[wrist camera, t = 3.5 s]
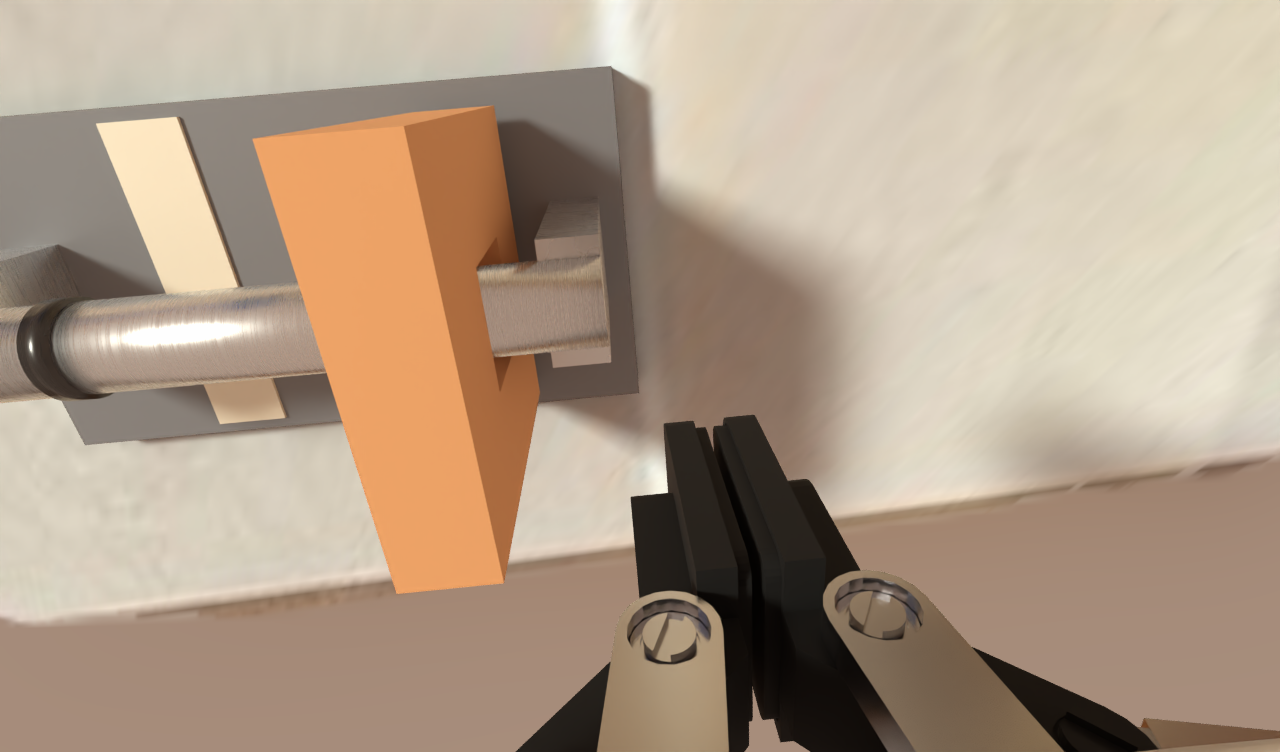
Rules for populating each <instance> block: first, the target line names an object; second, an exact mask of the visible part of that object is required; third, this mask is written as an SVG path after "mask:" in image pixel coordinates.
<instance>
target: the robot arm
mask: <svg viewBox="0 0 1280 752" xmlns="http://www.w3.org/2000/svg"><path fill="white" fill-rule="evenodd" d="M664 440H665V454H666V469H667V483H668V493H664V494H654V495H644V496H634V497H631V507H632V519H633V530H634V541H635V552H636V563H637V575H638V586H639V597H640V599H638V600H637V601H635V602H634V603H632V604H631V605H629V606H628V608H627V609H626V610H625V611H624V612H623V614H622V615H621V616H620V618H619V621H618V624H617V627H616V630H615V637H614V643H613V650H612V657H611V662H609V664H607V665H606V666H605V667H604V668H603V669H602V670H601V671H600V672H599V673H598V674H597V675H596V676H595V677H594V678H593V679H592V680H591V681H590V682H588V683H587V684H586V685H585V686H584V687H583V688H582V689H581V690H580V691H579V692H578V693H577V694H576V695H575V696H574V697H573V698H572V699H571V700H570V701H568V703H567V704H565V705H564V706H563V707H562V708H561V709H560V710H559V711H558V712H557V713H556V714H555V715H554V716H553V717H552V718H551V719H550V720H549V721H547V723H545V724H544V725H543V726H542V727H541V728H540V729H539V730H538V731H537V732H536V733H535V734H534V735H533V736H532V737H531V738H530V739H529V740H528V741H527V742H525V743H524V744H523V745H522V746H521V747H520V748H519V749H518V750H517V751H516V752H744V751H745V750H746V749H747V747H748V746H749V721H752V717H753V713H752V712H753V709H752V708H753V706H752V705H753V701H752V700H753V699H752V698H753V697H752V686H753V690H754V693H755V697H756V701H757V705H758V708H759V712H760V715H761V718H762V719H763V720H766V719H774V721H775V725H776V728H777V732H778V735H779V738H780V742H787V741H795V742H796V743H798V744H799V745H801V746H803V747H804V748H806V749H807V750H809V751H810V752H1280V731H1273V730H1262V729H1252V728H1242V727H1232V726H1231V727H1230V726H1221V725H1211V724H1201V723H1189V722H1180V721H1168V720H1159V719H1149V718H1144V719H1143V722H1142V725H1141V727H1136V726H1135V725H1133V724H1132V723H1131V722H1129V721H1128V720H1127V719H1125V718H1124V717H1122V716H1120V715H1118V714H1117V713H1115V712H1113V711H1111V710H1109V709H1108V708H1106V707H1104V706H1102V705H1099V704H1097V703H1095V702H1093V701H1091V700H1088V699H1086V698H1084V697H1082V696H1080V695H1077V694H1075V693H1073V692H1070V691H1068V690H1066V689H1064V688H1062V687H1060V686H1057V685H1055V684H1053V683H1051V682H1049V681H1046V680H1044V679H1042V678H1040V677H1038V676H1035V675H1033V674H1031V673H1029V672H1026V671H1024V670H1022V669H1019V668H1017V667H1015V666H1013V665H1011V664H1008V663H1006V662H1004V661H1002V660H1000V659H998V658H995V657H993V656H991V655H989V654H987V653H984V652H982V651H980V650H978V649H975V648H973V647H971V646H970V645H969V644H968V643H967V641H966V640H965V639H964V638H963V637H962V636H961V635H960V633H958V631H957V630H956V629H955V628H954V627H953V626H952V625H951V623H950V622H949V621H948V620H947V619H946V618H945V617H944V615H943V614H942V613H941V612H940V611H939V610H938V609H937V608H936V606H935V605H934V604H933V603H932V602H931V601H930V600H929V598H928V597H927V596H926V595H925V594H923V593H922V592H921V591H920V590H919V589H918V588H917V587H915V586H914V585H913V584H911V583H909V582H907V581H905V580H903V579H902V578H900V577H897V576H894V575H891V574H888V573H885V572H879V571H870V570H860V568H859V567H858V565H857V563H856V562H855V560H854V558H853V556H852V554H851V552H850V551H849V549H848V548H847V545H846V544H845V542H844V540H843V538H842V536H841V535H840V533H839V531H838V529H837V527H836V526H835V524H834V522H833V520H832V518H831V517H830V515H829V513H828V511H827V510H826V508H825V506H824V504H823V502H822V501H821V499H820V497H819V495H818V493H817V492H816V490H815V488H814V486H813V485H812V483H811V482H810V481H809V480H807V479H801V480H791V481H787V479H786V477H785V475H784V473H783V471H782V469H781V467H780V465H779V463H778V461H777V459H776V457H775V455H774V453H773V451H772V449H771V447H770V445H769V443H768V441H767V439H766V437H765V435H764V433H763V431H762V429H761V427H760V425H759V423H758V421H757V419H756V417H755V415H746V416H736V417H726V418H724V420H723V426H714V428H713V442H714V451H713V448H712V445H711V442H710V439H709V436H708V433H707V430H706V428H705V427H703V428H695V424H694V422H693V421H685V422H675V423H665V424H664Z"/></svg>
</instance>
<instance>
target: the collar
mask: <svg viewBox="0 0 1280 752" xmlns="http://www.w3.org/2000/svg"><path fill="white" fill-rule="evenodd" d="M252 140H253V143H254V146H255V149H256V152H257V155H258V158H259V162H260V165H261V168H262V171H263V174H264V177H265V181H266V184H267V187H268V190H269V193H270V196H271V199H272V203H273V206H274V209H275V212H276V215H277V218H278V221H279V225H280V228H281V231H282V234H283V237H284V240H285V243H286V247H287V250H288V253H289V256H290V259H291V262H292V265H293V269H294V272H295V275H296V278H297V281H298V284H299V288H300V291H301V294H302V297H303V300H304V303H305V306H306V310H307V313H308V316H309V319H310V322H311V325H312V328H313V332H314V335H315V338H316V341H317V344H318V347H319V350H320V354H321V357H322V360H323V363H324V366H325V369H326V372H327V376H328V379H329V382H330V385H331V388H332V391H333V395H334V398H335V401H336V404H337V407H338V410H339V413H340V417H341V420H342V423H343V426H344V429H345V432H346V435H347V439H348V442H349V445H350V448H351V451H352V454H353V457H354V461H355V464H356V467H357V470H358V473H359V476H360V479H361V483H362V486H363V489H364V492H365V495H366V498H367V502H368V505H369V508H370V511H371V514H372V517H373V520H374V524H375V527H376V530H377V533H378V536H379V539H380V542H381V546H382V549H383V552H384V555H385V558H386V561H387V564H388V568H389V571H390V574H391V577H392V580H393V583H394V586H395V590H396V593H397V594H400V593H410V592H420V591H430V590H440V589H450V588H460V587H470V586H480V585H490V584H500V583H504V580H505V575H506V570H507V564H508V559H509V554H510V548H511V543H512V538H513V533H514V527H515V522H516V517H517V511H518V506H519V501H520V496H521V490H522V485H523V480H524V474H525V469H526V464H527V458H528V453H529V448H530V443H531V437H532V432H533V427H534V421H535V416H536V411H537V405H538V400H539V395H540V390H539V383H538V377H537V371H536V365H535V358H534V354H527V355H516V356H506V357H495V358H493V354H492V348H491V343H490V338H489V333H488V327H487V322H486V317H485V312H484V306H483V301H482V296H481V291H480V285H479V280H478V275H477V270H476V267H477V266H482V265H493V264H504V263H515V262H519V259H518V252H517V246H516V240H515V234H514V227H513V221H512V215H511V209H510V202H509V196H508V190H507V184H506V177H505V171H504V165H503V159H502V152H501V146H500V140H499V134H498V128H497V121H496V115H495V109H494V105H493V106H481V107H469V108H457V109H445V110H433V111H421V112H411V113H405V114H399V115H393V116H387V117H381V118H375V119H369V120H363V121H357V122H351V123H345V124H339V125H333V126H327V127H321V128H315V129H309V130H303V131H296V132H290V133H284V134H278V135H272V136H266V137H260V138H254V139H252Z"/></svg>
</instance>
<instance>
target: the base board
mask: <svg viewBox="0 0 1280 752" xmlns="http://www.w3.org/2000/svg"><path fill="white" fill-rule="evenodd" d="M493 105H494V109H495V115H496V121H497V128H498V134H499V140H500V146H501V152H502V159H503V165H504V171H505V177H506V184H507V190H508V196H509V202H510V209H511V215H512V221H513V227H514V234H515V240H516V246H517V252H518V259H519V262H526V261H537V255H536V248H535V241H534V239H535V237H536V235H537V232H538V230H539V227H540V225H541V222H542V220H543V217H544V215H545V212H546V210H547V207H548V205H549V203H550V201H561V200H572V199H584V198H595V197H598V200H599V210H600V219H601V229H602V239H603V249H604V259H605V269H606V279H607V289H608V299H609V321H610V343H611V362H610V363H600V364H589V365H578V366H567V367H557V368H553V364H552V357H551V352H549V353H538V354H534V358H535V365H536V371H537V377H538V383H539V390H540V395H539V400H538V402H548V401H559V400H570V399H580V398H591V397H601V396H612V395H623V394H633V393H639V386H638V374H637V362H636V350H635V338H634V327H633V315H632V303H631V291H630V280H629V268H628V256H627V244H626V232H625V221H624V209H623V197H622V185H621V173H620V162H619V150H618V138H617V126H616V114H615V103H614V91H613V79H612V67H611V66H608V67H596V68H584V69H572V70H560V71H548V72H535V73H523V74H511V75H499V76H487V77H475V78H463V79H451V80H439V81H426V82H414V83H402V84H390V85H378V86H366V87H354V88H342V89H329V90H317V91H305V92H293V93H281V94H269V95H257V96H245V97H233V98H220V99H208V100H196V101H184V102H172V103H160V104H148V105H136V106H124V107H111V108H99V109H87V110H75V111H63V112H51V113H39V114H27V115H14V116H2V117H0V251H1V250H5V249H9V248H21V247H32V246H44V245H55V244H58V246H59V248H60V250H61V252H62V254H63V256H64V258H65V260H66V263H67V265H68V267H69V269H70V271H71V273H72V275H73V277H74V279H75V282H76V284H77V286H78V288H79V290H80V292H81V294H82V296H83V297H90V298H93V299H96V300H100V299H111V298H122V297H134V296H145V295H156V294H167V293H178V292H190V291H201V290H212V289H223V288H235V287H246V286H257V285H268V284H279V283H291V282H298V281H297V278H296V275H295V272H294V269H293V265H292V262H291V259H290V256H289V253H288V250H287V247H286V243H285V240H284V237H283V234H282V231H281V228H280V225H279V221H278V218H277V215H276V212H275V209H274V206H273V203H272V199H271V196H270V193H269V190H268V187H267V184H266V181H265V177H264V174H263V171H262V168H261V165H260V162H259V158H258V155H257V152H256V149H255V146H254V143H253V140H252V139H254V138H260V137H266V136H272V135H278V134H284V133H290V132H296V131H303V130H309V129H315V128H321V127H327V126H333V125H339V124H345V123H351V122H357V121H363V120H369V119H375V118H381V117H387V116H393V115H399V114H405V113H411V112H421V111H433V110H445V109H457V108H469V107H481V106H493ZM62 402H63V404H64V406H65V408H66V410H67V412H68V414H69V416H70V418H71V419H72V421H73V423H74V425H75V427H76V429H77V431H78V433H79V435H80V436H81V438H82V440H83V442H84V444H85V445H91V444H102V443H112V442H123V441H133V440H144V439H155V438H165V437H176V436H187V435H197V434H208V433H219V432H229V431H240V430H250V429H261V428H272V427H282V426H293V425H304V424H314V423H325V422H336V421H342V420H341V417H340V413H339V410H338V407H337V404H336V401H335V398H334V395H333V391H332V388H331V385H330V382H329V379H328V376H327V373H321V374H311V375H300V376H289V377H278V378H267V379H256V380H246V381H235V382H224V383H213V384H202V385H191V386H181V387H170V388H159V389H148V390H137V391H126V392H116V393H113V394H112V395H110V396H107V397H105V398H100V399H90V400H79V401H62Z"/></svg>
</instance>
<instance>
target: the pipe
mask: <svg viewBox="0 0 1280 752" xmlns="http://www.w3.org/2000/svg"><path fill="white" fill-rule="evenodd" d="M534 241H535V248H536V255H537V261H526V262H515V263H504V264H493V265H482V266H477V267H476V270H477V275H478V280H479V285H480V291H481V296H482V301H483V306H484V312H485V317H486V322H487V327H488V333H489V338H490V343H491V348H492V354H493V358H495V357H506V356H516V355H527V354H538V353H549V352H551V357H552V364H553V368H557V367H567V366H578V365H589V364H600V363H610V362H611V343H610V321H609V299H608V289H607V279H606V269H605V259H604V249H603V239H602V229H601V219H600V210H599V200H598V197H595V198H584V199H572V200H561V201H550V203H549V205H548V207H547V210H546V212H545V215H544V217H543V220H542V222H541V225H540V227H539V230H538V232H537V235H536V237H535V239H534ZM321 373H327V372H326V369H325V366H324V363H323V360H322V357H321V354H320V350H319V347H318V344H317V341H316V338H315V335H314V332H313V328H312V325H311V322H310V319H309V316H308V313H307V310H306V306H305V303H304V300H303V297H302V294H301V291H300V288H299V284H298V282H291V283H279V284H268V285H257V286H246V287H235V288H223V289H212V290H201V291H190V292H178V293H167V294H156V295H145V296H134V297H122V298H111V299H100V300H96V299H93V298H90V297H83V296H82V294H81V292H80V290H79V288H78V286H77V284H76V282H75V279H74V277H73V275H72V273H71V271H70V269H69V267H68V265H67V263H66V260H65V258H64V256H63V254H62V252H61V250H60V248H59V246H58V244H55V245H44V246H32V247H21V248H9V249H5V250H1V251H0V403H7V402H18V401H29V400H40V399H51V398H54V399H57V400H61V401H79V400H90V399H100V398H105V397H107V396H110V395H112V394H113V393H116V392H126V391H137V390H148V389H159V388H170V387H181V386H191V385H202V384H213V383H224V382H235V381H246V380H256V379H267V378H278V377H289V376H300V375H311V374H321Z"/></svg>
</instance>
